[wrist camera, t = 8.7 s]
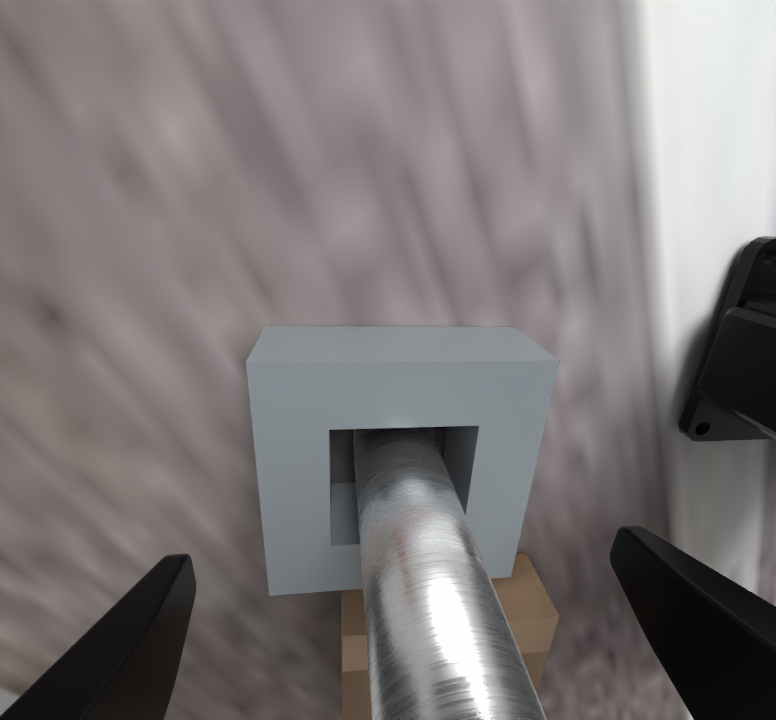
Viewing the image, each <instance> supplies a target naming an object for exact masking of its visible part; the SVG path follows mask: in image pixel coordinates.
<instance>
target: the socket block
mask: <svg viewBox="0 0 776 720" xmlns="http://www.w3.org/2000/svg"><path fill="white" fill-rule="evenodd" d="M491 581H492V584H493V586H494V589H495V591H496V594H497V596H498V599H499V601H500V604H501V606H502V609H503V611H504V614H505V616H506V619H507V621H508V624H509V626H510V629H511V631H512V634H513V636H514V639H515V641H516V644H517V646H518V649H519V651H520V654H521V656H522V659H523V661H524V664H525V666H526V669H527V671H528V674H529V676H530V679H531V681H532V684H533V686H534V689H535V691H536V693H537V689H538V686H539V683H540V679H541V676H542V673H543V670H544V666H545V663H546V660H547V657H548V653H549V650H550V647H551V644H552V640H553V637H554V634H555V631H556V627H557V624H558V621H559V618H560V616H559V614H558V612H557V610H556V608H555V607H554V605H553V603H552V601H551V599H550V597H549V595H548V593H547V591H546V590H545V588H544V586H543V584H542V582H541V580H540V578H539V576H538V574H537V572H536V571H535V569H534V567H533V565H532V563H531V561H530V559H529V557H528V555H527V553H517V554H516V556H515V561H514V565H513V570H512V574H511V577H505V578H492V579H491ZM341 703H342V720H372V711H371V696H370V682H369V667H368V653H367V638H366V623H365V609H364V594H363V589H351V590H341Z"/></svg>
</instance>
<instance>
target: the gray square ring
mask: <svg viewBox="0 0 776 720" xmlns="http://www.w3.org/2000/svg"><path fill="white" fill-rule="evenodd" d="M559 361H560V360H558V359H557V358H556V357H554V356H553V355H552V354H550V353H549V352H548V351H546V350H545V349H544V348H542V347H541V346H540V345H538V344H537V343H536V342H534V341H533V340H532V339H531V338H529V337H528V336H527V335H525V334H524V333H523V332H521V331H520V330H519V329H517V328H516V327H412V326H265V327H264V329H263V331H262V333H261V335H260V336H259V338H258V340H257V342H256V344H255V346H254V348H253V350H252V352H251V354H250V355H249V357H248V359H247V361H246V369H247V379H248V389H249V399H250V409H251V419H252V429H253V439H254V449H255V459H256V469H257V479H258V489H259V499H260V509H261V519H262V529H263V539H264V549H265V559H266V569H267V579H268V589H269V596H274V595H287V594H300V593H313V592H326V591H338V590H351V589H363V580H362V565H361V550H360V536H359V521H358V507H357V492H356V482H347V483H332V471H331V430H338V429H374V428H411V427H446V436H445V444H444V453H443V461H444V464H445V466H446V469H447V471H448V474H449V476H450V479H451V481H452V484H453V486H454V489H455V491H456V494H457V496H458V499H459V501H460V504H461V506H462V509H463V511H464V514H465V516H466V519H467V521H468V524H469V526H470V529H471V531H472V534H473V536H474V539H475V541H476V544H477V546H478V549H479V551H480V554H481V556H482V559H483V561H484V564H485V566H486V569H487V571H488V574H489V576H490V579H492V578H505V577H511V574H512V570H513V565H514V561H515V556H516V552H517V548H518V543H519V539H520V534H521V530H522V525H523V521H524V517H525V512H526V508H527V503H528V499H529V494H530V490H531V485H532V481H533V477H534V472H535V468H536V463H537V459H538V454H539V450H540V446H541V441H542V437H543V432H544V428H545V423H546V419H547V414H548V410H549V406H550V401H551V397H552V392H553V388H554V383H555V379H556V375H557V370H558V366H559Z"/></svg>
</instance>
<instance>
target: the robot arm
mask: <svg viewBox="0 0 776 720" xmlns="http://www.w3.org/2000/svg"><path fill="white" fill-rule="evenodd" d="M765 253H766V255H765ZM764 255H765V257H764V258H763V256H764ZM679 430H680V432H681V433H683V434H684V435H685V436H687V437H688V438H690V439H691V440H692V441H723V440H752V439H776V237H768V236H764V237H759V238H757V239H755V240H753V241H751V242H750V243H749V245H748V246H747V247H746V248H745V250H744V252H743V253H742V256H741V258H740V261H739V264H738V266H737V269H736V272H735V274H734V277H733V280H732V282H731V285H730V288H729V291H728V293H727V296H726V299H725V301H724V304H723V307H722V309H721V312H720V315H719V317H718V320H717V323H716V325H715V328H714V331H713V333H712V336H711V339H710V341H709V344H708V347H707V349H706V352H705V355H704V357H703V360H702V363H701V366H700V368H699V371H698V374H697V376H696V379H695V382H694V384H693V387H692V390H691V392H690V395H689V398H688V400H687V403H686V406H685V408H684V411H683V414H682V416H681V419H680V422H679ZM610 562H611V565H612V567H613V570H614V572H615V574H616V576H617V578H618V580H619V582H620V584H621V586H622V588H623V590H624V592H625V595H626V597H627V599H628V601H629V603H630V605H631V607H632V609H633V611H634V613H635V615H636V618H637V620H638V622H639V624H640V626H641V628H642V630H643V632H644V634H645V636H646V638H647V640H648V641H649V643H650V645H651V647H652V649H653V650H654V652H655V654H656V656H657V657H658V659H659V661H660V662H661V664H662V666H663V668H664V669H665V671H666V673H667V674H668V676H669V678H670V680H671V681H672V683H673V685H674V686H675V688H676V690H677V692H678V693H679V695H680V697H681V698H682V700H683V702H684V704H685V705H686V707H687V709H688V710H689V712H690V714H691V715H692V717H693V719H694V720H776V607H775V606H774V605H772V604H770V603H768V602H767V601H765V600H763V599H762V598H760V597H758V596H757V595H755V594H753V593H752V592H750V591H748V590H747V589H745V588H743V587H742V586H740V585H738V584H737V583H735V582H733V581H732V580H730V579H728V578H726V577H725V576H723V575H721V574H720V573H718V572H716V571H715V570H713V569H711V568H710V567H708V566H706V565H705V564H703V563H701V562H700V561H698V560H696V559H695V558H693V557H691V556H689V555H688V554H686V553H684V552H683V551H681V550H679V549H678V548H676V547H674V546H673V545H671V544H669V543H668V542H666V541H664V540H663V539H661V538H659V537H658V536H656V535H654V534H653V533H651V532H649V531H647V530H646V529H644V528H642V527H640V526H623V527H620V528H619V529H618V531H617V533H616V536H615V539H614V542H613V545H612V548H611V551H610ZM195 594H196V581H195V575H194V570H193V565H192V560H191V557H190V555H188V554H172V555H167V556H165V557H164V558H163V559H161V560H160V561H159V562H158V563H157V564H156V565H155V566H154V567H153V568H152V569H151V570H150V571H149V572H148V573H147V574H146V575H145V576H144V577H143V578H142V579H141V580H140V581H139V582H138V583H137V584H136V585H135V586H134V587H133V588H132V589H131V590H129V591H128V592H127V593H126V594H125V595H124V596H123V597H122V598H121V599H120V600H119V601H118V602H117V603H116V604H115V605H114V606H113V607H112V608H111V609H110V610H109V611H108V612H107V613H106V614H105V615H104V616H103V617H102V618H101V619H100V620H99V621H98V622H97V623H96V624H94V625H93V626H92V627H91V628H90V629H89V630H88V631H87V632H86V633H85V634H84V635H83V636H82V637H81V638H80V639H79V640H78V641H77V642H76V643H75V644H74V645H73V646H72V647H71V648H70V649H69V650H68V651H67V652H66V653H65V654H64V655H63V656H62V657H60V658H59V659H58V660H57V661H56V662H55V663H54V664H53V665H52V666H51V667H50V668H49V669H48V670H47V671H46V672H45V673H44V674H43V675H42V676H41V677H40V678H39V679H38V680H37V681H36V682H35V683H34V684H33V685H32V686H31V687H30V688H29V689H28V690H27V691H25V692H24V693H23V694H22V695H21V696H20V697H19V698H18V699H17V700H16V701H15V702H14V703H13V704H12V705H11V706H10V707H9V708H8V709H7V710H6V711H5V712H4V713H3V714H2V715H1V716H0V720H163V719H164V716H165V713H166V710H167V707H168V704H169V701H170V698H171V694H172V691H173V688H174V684H175V680H176V676H177V672H178V668H179V664H180V659H181V655H182V651H183V647H184V642H185V638H186V634H187V629H188V625H189V621H190V616H191V612H192V608H193V604H194V599H195Z"/></svg>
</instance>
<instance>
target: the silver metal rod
mask: <svg viewBox="0 0 776 720" xmlns="http://www.w3.org/2000/svg"><path fill="white" fill-rule="evenodd" d="M353 448H354V463H355V477H356V492H357V507H358V521H359V536H360V550H361V565H362V580H363V594H364V609H365V623H366V638H367V653H368V667H369V682H370V696H371V711H372V720H547V719H546V716H545V714H544V711H543V709H542V706H541V704H540V701H539V699H538V696H537V694H536V691H535V689H534V686H533V684H532V681H531V679H530V676H529V674H528V671H527V669H526V666H525V664H524V661H523V659H522V656H521V654H520V651H519V649H518V646H517V644H516V641H515V639H514V636H513V634H512V631H511V629H510V626H509V624H508V621H507V619H506V616H505V614H504V611H503V609H502V606H501V604H500V601H499V599H498V596H497V594H496V591H495V589H494V586H493V584H492V581H491V579H490V576H489V574H488V571H487V569H486V566H485V564H484V561H483V559H482V556H481V554H480V551H479V549H478V546H477V544H476V541H475V539H474V536H473V534H472V531H471V529H470V526H469V524H468V521H467V519H466V516H465V514H464V511H463V509H462V506H461V504H460V501H459V499H458V496H457V494H456V491H455V489H454V486H453V484H452V481H451V479H450V476H449V474H448V471H447V469H446V466H445V464H444V461H443V459H442V456H441V454H440V451H439V449H438V446H437V444H436V441H435V438H434V436H433V433H432V431H431V428H430V427H411V428H374V429H353Z"/></svg>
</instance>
